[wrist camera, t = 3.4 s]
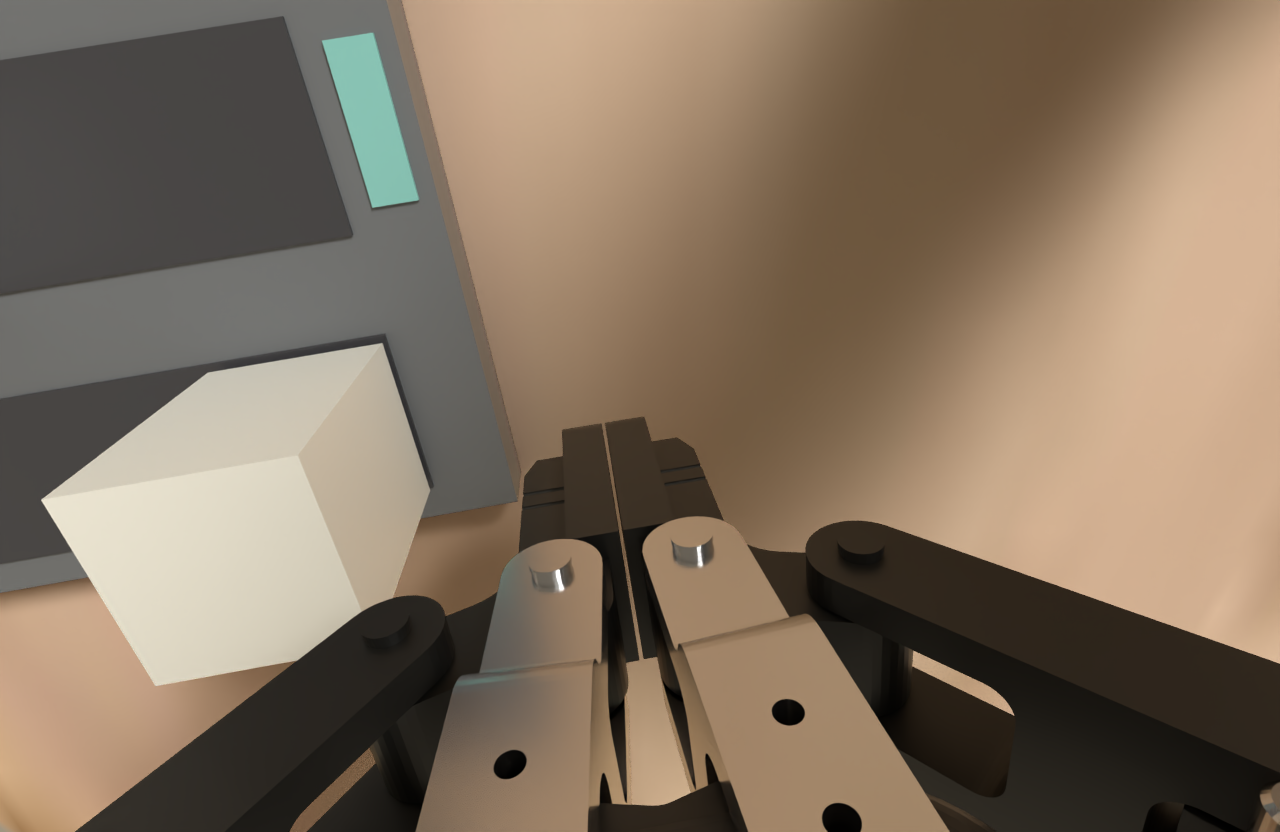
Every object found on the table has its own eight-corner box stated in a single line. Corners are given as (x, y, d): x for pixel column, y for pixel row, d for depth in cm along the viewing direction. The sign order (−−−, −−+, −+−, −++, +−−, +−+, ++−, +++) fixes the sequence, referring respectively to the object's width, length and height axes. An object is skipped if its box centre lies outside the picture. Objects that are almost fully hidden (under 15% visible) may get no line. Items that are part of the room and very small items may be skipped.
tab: (382, 343, 16) (298, 455, 11) (430, 490, 17) (376, 646, 12) (207, 372, 16) (40, 499, 11) (273, 518, 17) (155, 686, 12)
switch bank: (277, -490, 12) (233, -580, 10) (521, 471, 20) (517, 503, 18) (-639, -365, 11) (-832, -440, 10) (-6, 564, 19) (-55, 604, 18)
